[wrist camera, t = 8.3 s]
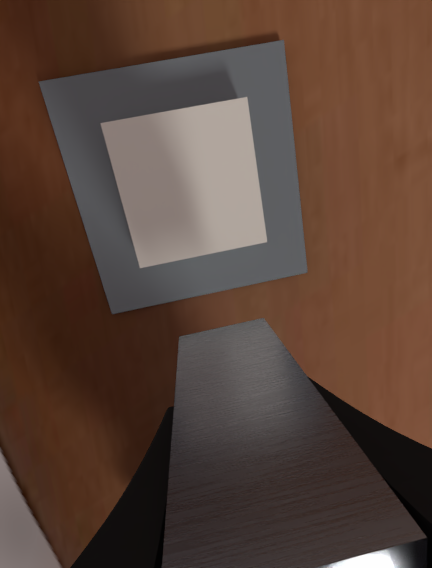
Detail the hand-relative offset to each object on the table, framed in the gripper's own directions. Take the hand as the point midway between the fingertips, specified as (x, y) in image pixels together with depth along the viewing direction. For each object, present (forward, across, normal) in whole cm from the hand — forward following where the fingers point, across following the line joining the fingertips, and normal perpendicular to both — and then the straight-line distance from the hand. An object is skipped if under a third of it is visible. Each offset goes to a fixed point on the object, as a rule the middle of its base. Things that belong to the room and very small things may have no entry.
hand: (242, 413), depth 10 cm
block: (+3, 0, 0) cm, 3 cm away
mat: (+10, 0, -9) cm, 13 cm away
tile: (+9, 0, -5) cm, 10 cm away
